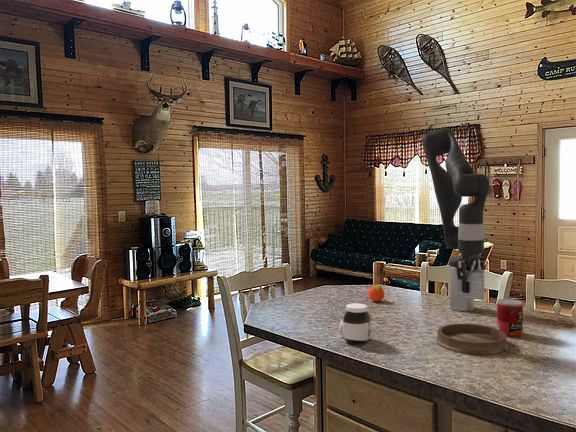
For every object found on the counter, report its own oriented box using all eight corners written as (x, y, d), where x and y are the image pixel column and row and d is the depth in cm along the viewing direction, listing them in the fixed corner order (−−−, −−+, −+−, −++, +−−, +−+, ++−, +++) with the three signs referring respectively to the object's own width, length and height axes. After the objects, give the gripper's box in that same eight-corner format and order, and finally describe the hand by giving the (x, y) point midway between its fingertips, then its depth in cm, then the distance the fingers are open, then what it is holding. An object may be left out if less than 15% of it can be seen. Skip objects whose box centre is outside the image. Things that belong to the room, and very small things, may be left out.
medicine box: (484, 297, 151) (484, 270, 150) (483, 300, 147) (483, 272, 146) (458, 295, 154) (458, 268, 154) (456, 298, 150) (456, 270, 150)
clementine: (386, 303, 204) (386, 287, 204) (370, 304, 204) (369, 287, 204) (383, 299, 212) (382, 283, 212) (367, 299, 212) (367, 283, 212)
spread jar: (362, 347, 150) (361, 310, 149) (329, 341, 156) (329, 306, 155) (376, 336, 160) (375, 302, 159) (345, 332, 166) (344, 298, 165)
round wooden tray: (458, 329, 166) (457, 319, 166) (519, 343, 150) (519, 332, 150) (423, 343, 152) (423, 332, 152) (487, 360, 136) (487, 348, 136)
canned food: (512, 339, 155) (512, 305, 154) (491, 332, 162) (491, 300, 161) (528, 335, 158) (528, 302, 157) (507, 329, 165) (507, 297, 164)
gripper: (471, 235, 157) (471, 286, 158) (447, 239, 147) (447, 293, 148) (493, 236, 151) (493, 289, 152) (470, 240, 142) (470, 297, 143)
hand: (470, 291), depth 150 cm, fingers closed on medicine box, 5 cm apart
